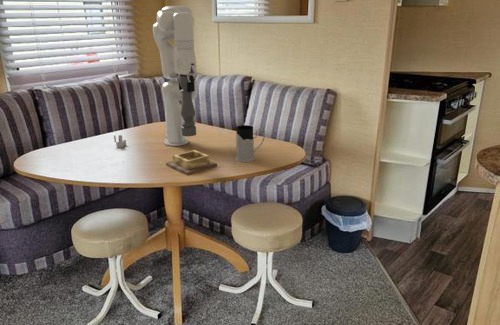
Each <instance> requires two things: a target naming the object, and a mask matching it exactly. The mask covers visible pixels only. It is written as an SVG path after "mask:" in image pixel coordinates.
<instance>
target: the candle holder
mask: <svg viewBox="0 0 500 325" xmlns="http://www.w3.org/2000/svg"><path fill="white" fill-rule="evenodd" d="M190 77H191V76H190ZM178 81H179V83H180V86H181V88H182V90H180V91H181V93H182V97H183V100H182V101H181V105H182V107H181V116H182V117H183V120H184V121H183V123H182V125H183V126H182V127H181V130H182V135H183V136H185V137H194V136H196V135H197V127H196V122H195V121H194V118H195V117H196V110H195V106H194V102H193V99H192V92H188V91H187V82H188V79H187V75H179V80H178Z"/></svg>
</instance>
